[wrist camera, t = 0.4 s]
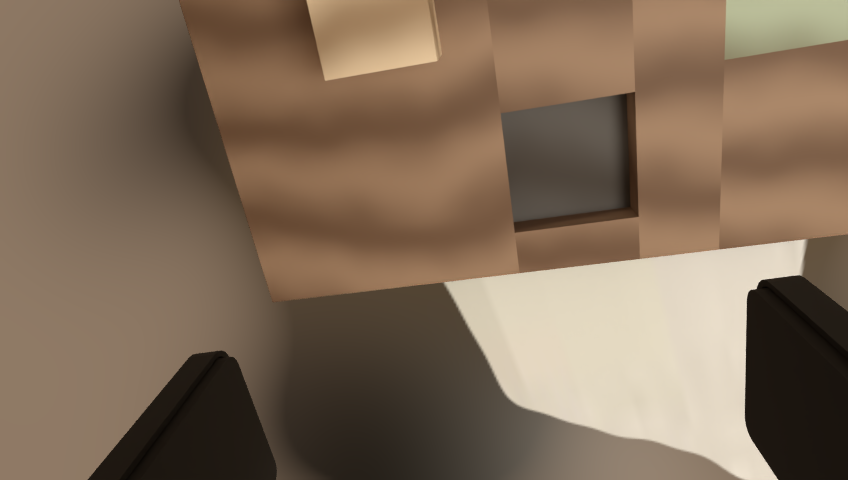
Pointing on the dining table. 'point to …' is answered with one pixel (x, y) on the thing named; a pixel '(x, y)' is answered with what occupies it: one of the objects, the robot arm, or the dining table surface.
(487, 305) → the dining table surface
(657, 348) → the dining table surface
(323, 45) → the maple block
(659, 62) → the trap deck
